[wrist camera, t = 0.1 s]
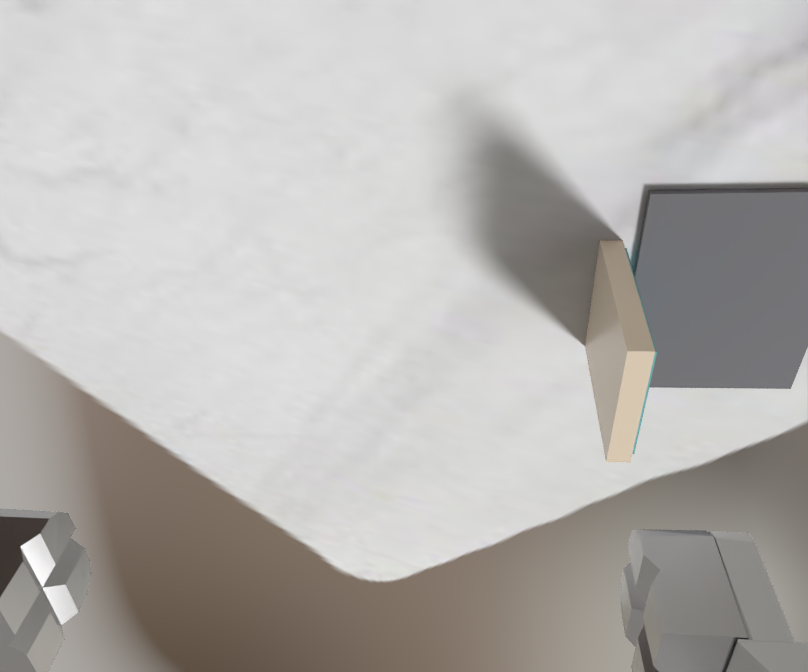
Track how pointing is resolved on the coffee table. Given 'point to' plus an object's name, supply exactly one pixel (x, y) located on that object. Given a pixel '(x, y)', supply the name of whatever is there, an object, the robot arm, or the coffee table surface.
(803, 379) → the coffee table surface
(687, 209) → the mat
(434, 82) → the coffee table surface
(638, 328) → the tile
